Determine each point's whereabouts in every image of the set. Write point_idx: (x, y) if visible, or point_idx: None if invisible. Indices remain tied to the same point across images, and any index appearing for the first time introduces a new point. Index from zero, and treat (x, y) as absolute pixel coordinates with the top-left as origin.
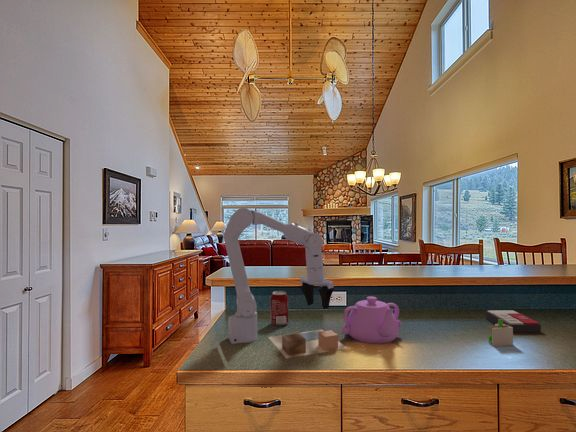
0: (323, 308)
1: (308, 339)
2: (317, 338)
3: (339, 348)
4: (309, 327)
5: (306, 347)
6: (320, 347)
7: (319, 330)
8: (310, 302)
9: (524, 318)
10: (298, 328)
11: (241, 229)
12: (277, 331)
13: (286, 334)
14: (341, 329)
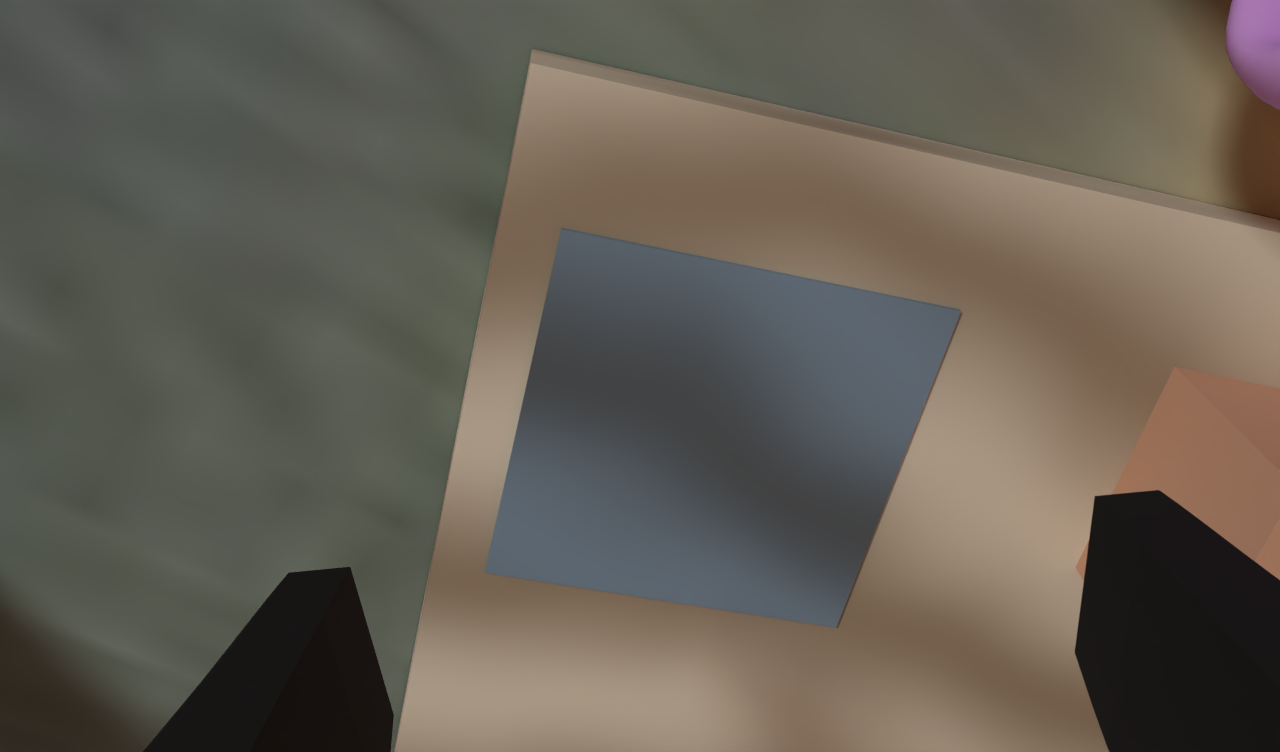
0: (1093, 666)
1: (817, 580)
2: (883, 447)
3: None
4: (107, 81)
5: (1020, 733)
6: None
7: (554, 153)
8: (366, 726)
9: None
10: (68, 311)
11: None
12: (67, 670)
13: (401, 716)
14: (1265, 99)
